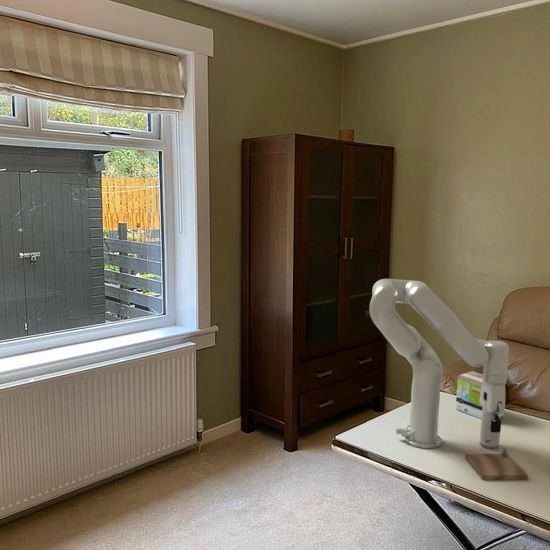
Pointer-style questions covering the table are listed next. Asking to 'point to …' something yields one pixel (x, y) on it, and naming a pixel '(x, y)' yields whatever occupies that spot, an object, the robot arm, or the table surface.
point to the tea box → (469, 393)
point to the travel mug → (488, 428)
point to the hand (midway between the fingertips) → (491, 427)
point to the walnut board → (496, 466)
